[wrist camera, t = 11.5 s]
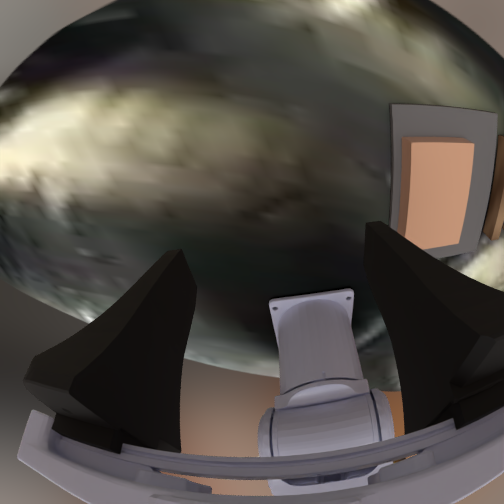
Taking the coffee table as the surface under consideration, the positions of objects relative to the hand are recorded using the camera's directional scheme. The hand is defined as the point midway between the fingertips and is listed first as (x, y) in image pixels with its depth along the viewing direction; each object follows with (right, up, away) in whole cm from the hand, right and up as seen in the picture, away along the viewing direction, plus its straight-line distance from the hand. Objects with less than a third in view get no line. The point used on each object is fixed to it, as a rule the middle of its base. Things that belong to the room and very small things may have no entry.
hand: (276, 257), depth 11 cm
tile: (+16, +5, +7) cm, 18 cm away
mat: (+15, +5, +8) cm, 18 cm away
